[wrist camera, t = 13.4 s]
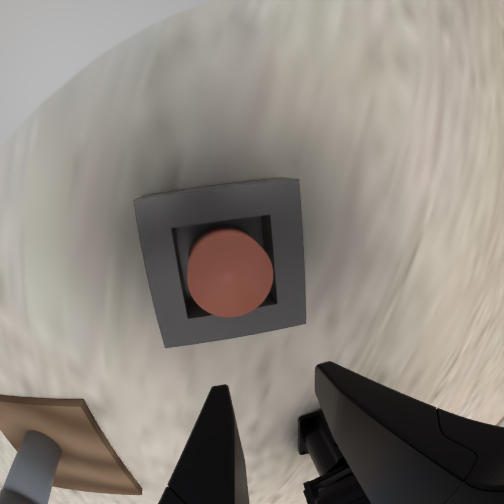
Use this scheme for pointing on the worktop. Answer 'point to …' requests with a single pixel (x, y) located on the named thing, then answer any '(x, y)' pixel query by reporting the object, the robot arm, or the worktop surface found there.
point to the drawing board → (69, 443)
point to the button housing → (208, 216)
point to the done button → (228, 272)
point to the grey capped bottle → (32, 471)
